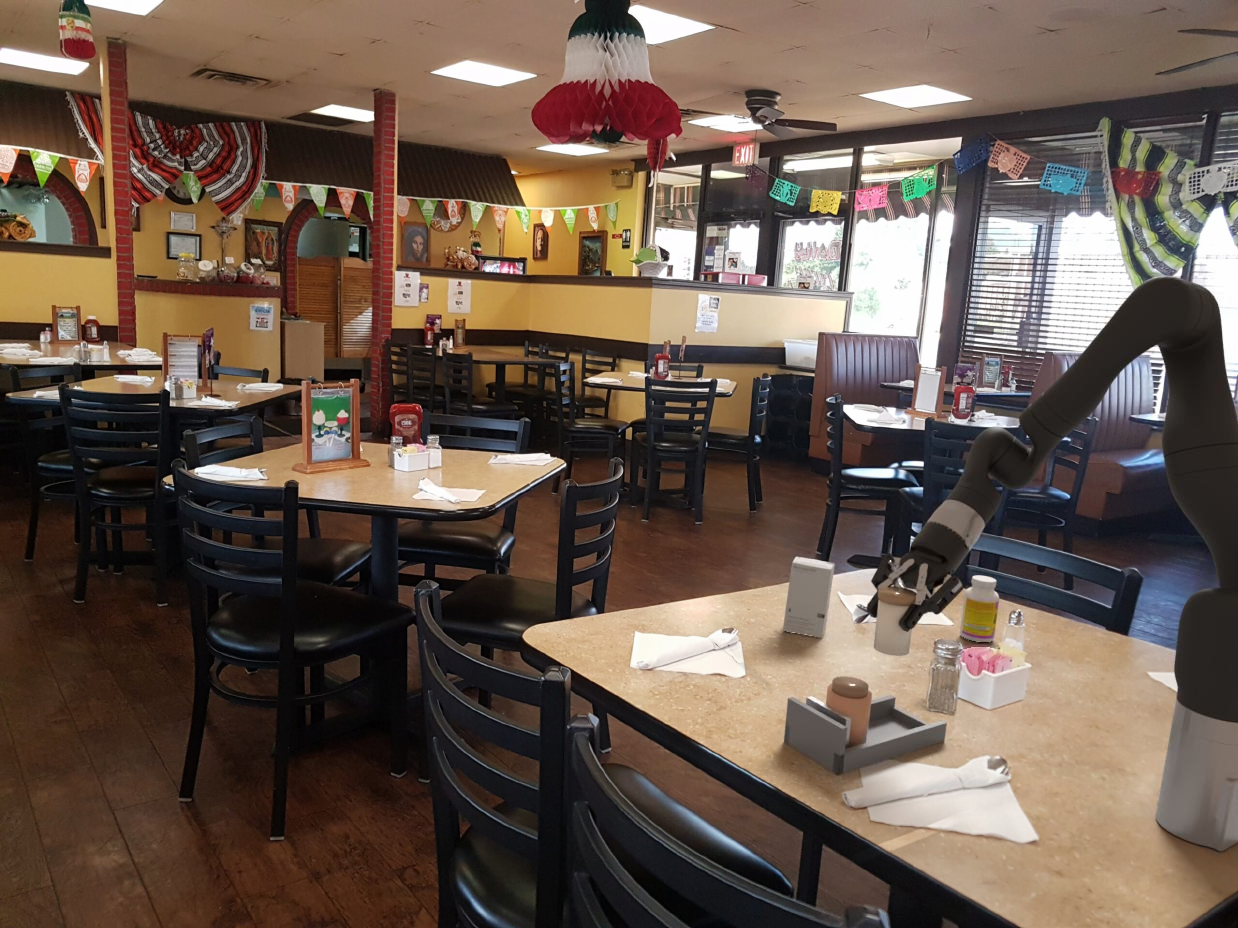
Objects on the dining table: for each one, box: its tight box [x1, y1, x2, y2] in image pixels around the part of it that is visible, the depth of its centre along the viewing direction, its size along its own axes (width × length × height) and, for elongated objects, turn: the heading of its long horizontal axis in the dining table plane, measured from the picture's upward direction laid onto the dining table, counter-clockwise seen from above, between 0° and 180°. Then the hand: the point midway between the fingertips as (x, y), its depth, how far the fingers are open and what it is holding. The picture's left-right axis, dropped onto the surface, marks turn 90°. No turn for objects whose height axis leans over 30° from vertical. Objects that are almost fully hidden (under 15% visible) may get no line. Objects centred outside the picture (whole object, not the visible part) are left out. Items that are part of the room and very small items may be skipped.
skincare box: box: [782, 556, 836, 639], centre depth 188 cm, size 8×6×15 cm
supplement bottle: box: [959, 574, 1000, 643], centre depth 190 cm, size 7×7×13 cm
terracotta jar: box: [825, 675, 873, 748], centre depth 137 cm, size 6×6×10 cm
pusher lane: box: [783, 694, 948, 776], centre depth 140 cm, size 11×23×8 cm, turn 123°
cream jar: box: [873, 585, 917, 657], centre depth 139 cm, size 6×6×9 cm
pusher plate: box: [805, 695, 851, 749], centre depth 135 cm, size 8×2×7 cm, turn 33°
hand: (886, 620), depth 138 cm, fingers closed on cream jar, 5 cm apart
